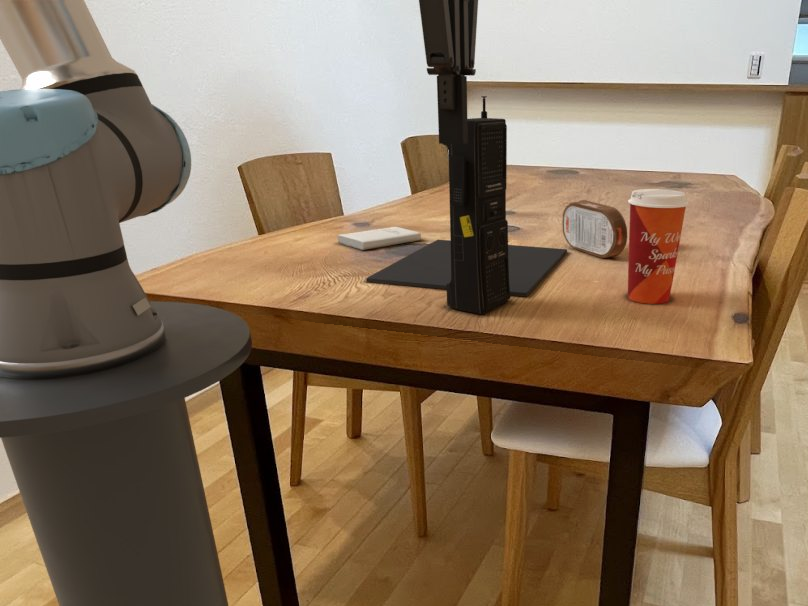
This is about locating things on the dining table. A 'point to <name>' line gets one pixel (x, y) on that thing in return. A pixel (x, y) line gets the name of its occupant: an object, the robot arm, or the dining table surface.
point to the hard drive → (378, 238)
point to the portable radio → (479, 217)
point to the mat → (435, 267)
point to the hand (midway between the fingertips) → (453, 143)
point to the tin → (594, 228)
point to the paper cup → (654, 243)
